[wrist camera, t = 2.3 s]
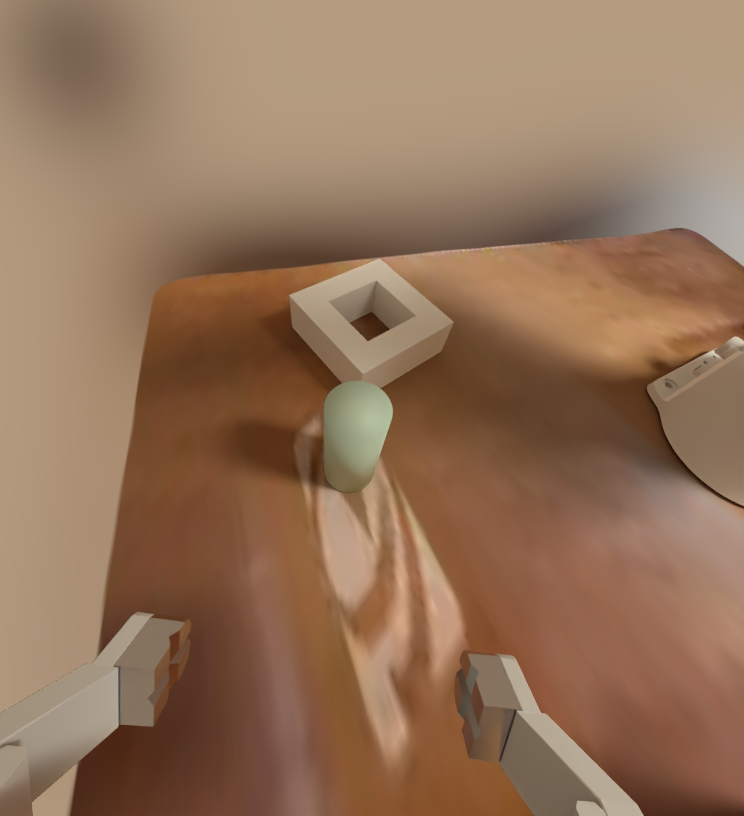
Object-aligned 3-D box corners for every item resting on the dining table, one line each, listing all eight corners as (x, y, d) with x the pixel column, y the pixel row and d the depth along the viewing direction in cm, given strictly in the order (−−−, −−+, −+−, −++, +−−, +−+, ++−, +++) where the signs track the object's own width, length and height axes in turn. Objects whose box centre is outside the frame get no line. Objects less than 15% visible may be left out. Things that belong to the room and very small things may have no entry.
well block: (374, 290, 43) (379, 258, 39) (441, 351, 39) (453, 322, 35) (292, 327, 38) (288, 295, 34) (358, 401, 34) (363, 374, 30)
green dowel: (353, 437, 32) (363, 370, 23) (383, 473, 30) (406, 415, 22) (313, 463, 30) (309, 401, 22) (343, 503, 28) (352, 453, 20)
